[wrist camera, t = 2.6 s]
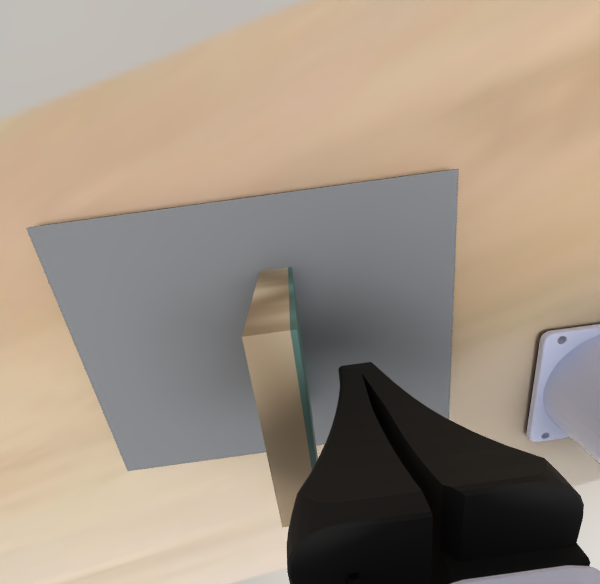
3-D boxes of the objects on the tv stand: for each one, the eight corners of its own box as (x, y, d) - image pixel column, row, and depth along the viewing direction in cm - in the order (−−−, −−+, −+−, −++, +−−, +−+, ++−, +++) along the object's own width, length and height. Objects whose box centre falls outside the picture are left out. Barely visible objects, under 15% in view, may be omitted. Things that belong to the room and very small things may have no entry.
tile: (291, 266, 16) (297, 329, 9) (310, 398, 18) (324, 521, 12) (259, 270, 16) (241, 336, 9) (283, 402, 18) (282, 527, 12)
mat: (451, 169, 15) (458, 168, 14) (443, 420, 20) (448, 427, 20) (36, 226, 15) (26, 228, 14) (132, 462, 20) (127, 471, 20)
